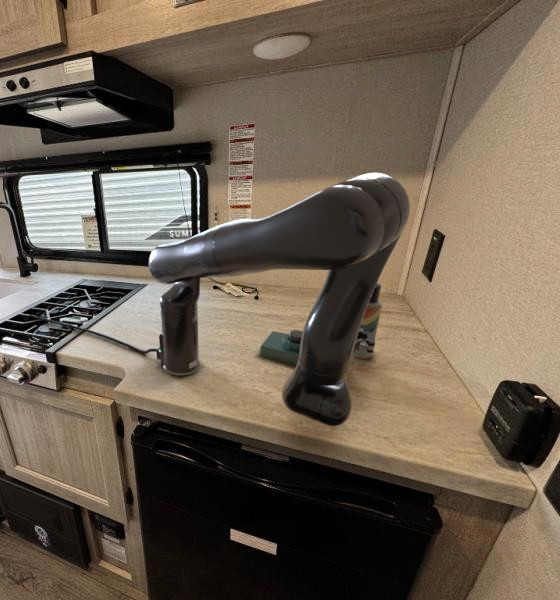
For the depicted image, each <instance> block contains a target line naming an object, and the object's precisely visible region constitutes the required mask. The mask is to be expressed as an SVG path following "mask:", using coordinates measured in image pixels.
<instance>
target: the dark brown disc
mask: <svg viewBox="0 0 560 600" xmlns="http://www.w3.org/2000/svg"><path fill="white" fill-rule="evenodd" d="M289 333H290V334H289ZM289 333H288V334H289V341H291V342H294V343H301V337H302V333H303V330H298V329H294V330H290V331H289Z"/></svg>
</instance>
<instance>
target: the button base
mask: <svg viewBox="0 0 560 600" xmlns="http://www.w3.org/2000/svg"><path fill="white" fill-rule="evenodd" d="M289 334H290V332H289V333H284V332H279V331H275V330H272V331H271V332H270V333H269V335H268V336H267V337H266V338H265V340H264V341H263V342H262V344H261V345H260V349H259V350H260V351H259V356H260V357H263V358H267V359H271V360H274V361H278V362H282V363H284V364H289V365H292V366H296V364H297V361H298V357H299V351H300V344H301V343H294V342H291V341H289Z"/></svg>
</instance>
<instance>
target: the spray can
mask: <svg viewBox="0 0 560 600" xmlns="http://www.w3.org/2000/svg"><path fill="white" fill-rule="evenodd" d="M381 289H382V285H381V284H380V283H379V282H377V284H376V286H375V289H374V291H373V293H372V296H371V298H370V301H369V303H368V306H367V309H366V311H365V314H364V317H363V320H362V325H364V326H365V328H364V331H365V332H366V331H371V332H373V336H374V339H375V340H376V335H377V332H378V327H379V322H380V317H381V312H382V308H383V302H382V301H381V300H379V299H380V294H381ZM363 341H365V340H364V339H362V340H360V343H362V342H363ZM372 355H373V353H368V352H367V350H366V349H362V348H359V350H356V352H355V356H354V358H357V359H363V360H364V359H369V358H371V357H372Z"/></svg>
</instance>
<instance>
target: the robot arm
mask: <svg viewBox="0 0 560 600" xmlns="http://www.w3.org/2000/svg"><path fill="white" fill-rule="evenodd" d="M410 210H411V204H410V197H409V195H408V193H407V189H405V187H404V186H403V184H402V183H401V182H399V181H398V180H397V179H396V178H395V177H392V176H390V175H388V174H385V173H381V172H367V173H363V174H359V175H355V176H353V177H350V178H348V179H345V180H343V181H340V182H338V183H336V184H334V185H330V186H328V187H326V188H324V189H322V190H319V191H318V192H316V193H314V194H312V195H310V196H309V197H307V198H305V199H303V200H302V201H299V202H297V203H295V204H293V205H291V206H289V207H287V208H285V209H283V210H280V211H278V212H276V213H274V214H272V215H269V216H267V217H264V218H263V217H262V218H260V219H252V218H242V219H235V220H232V221H228V222H225V223H223V224H219V225H216V226H214V227H212V228H209V229H207V230H205V231H203V232H200V233H198V234H195V235H194V236H191V237H188V238H187V239H185V240H180V241H175V242H170V243H164V244H160V245H157V246H156V247H154V249H152V251H151V253H150V254H149V258H148V267H149V268H148V270H149V272H150V275H151V276H152V277H153V279H154V280H155V281H157V282H158V283H160V284H162V285H172V284H173V285H172V286H171V287H170V288H169V289H168V290H167V291H165V292H164V293H163V294H162V295H161V296H160V298H159V309H160V324H161V333H160V334H159V335H158V337H159V338H158V340H159V341H158V343H159V347H158V348H148V349H147V350H143V349H140V348H137V347H136V346H135V347H134V346H133V345H131V344H128V343H127V342H125V341H124V342H123V341H121V340H119V339H116V338H114V337H112V336H109V335H105V334H103V333H100V332H96V331H94V330H90V329H87V328H83V327H79V326H76V325H72V324H69V323H68V324H67V323H64V322H60V321H56V320H52V319H48V318H45V317H41V316H37V315H33V314H29V315H28V316H29V317H30V318H32V319H33V318H34V319H37V320H40V321H44V322H47V323H52V324H54V325H59V326H64V327H67V328H72V329H75V330H78V331H82V332H85V333H89V334H92V335H96V336H98V337H101V338H104V339H106V340H109V341H111V342H115V343H117V344H119V345H121V346H124V347H127V348H128V349H131V350H132V351H134V352H136V353H140V354H144V355H145V354H146V355H147V354H149V353H152V352H153V353H154V352H155V354H156V359H157V360H159V361H160V366H161V367H162V368H163V369H164V370H165V372H166V373H168V374H170V375H173V376H178V377H184V376H190V375H192V374H195V373H196V372H197V371H198V370H199V368H200V358H199V356H200V355H199V352H200V350H199V310H198V308H199V307H198V306H199V305H198V302H199V299H200V295H201V279H219V278H221V279H222V278H233V277H240V276H247V275H252V274H253V275H254V274H260V273H266V272H268V271H277V270H278V271H279V270H302V271H303V270H304V271H306V270H308V271H328V272H327V275H326V278H325V280H324V282H323V284H322V285H323V286H322V287H321V290H320V292H319V294H318V296H317V298H316V300H315V301H314V304H313V306H312V308H311V310H310V312H309V314H308V316H307V318H306V321H305V323H304V326H303V329H302V332H303V333H302V337H301V344H300V351H299V357H298V361H297V364H296V365H295V366H294V368H293V370H292V372H291V374H289V376H288V377H287V379H286V381H285V382H284V384H283V387H282V391H281V400H282V402H283V404H284V406H285V407H286V408H287V409H288V410H289V411H291V412H292V413H295V414H298V415H300V416H303V417H304V418H308V419H310V420H313V421H316V422H318V423H320V424H323V425H325V426H328V427H334V428H335V427H339V426H342V425H344V424H345V423H346V422H347V421H348V420H349V418H350V417H351V413H352V407H353V406H352V405H353V403H352V396H351V390H350V387H349V384H348V381H347V378H348V375H349V372H350V370H351V369H352V366H353V365H354V360H355V357H354V356H355V352H356V350H359V348H362V349H366V350H367V352H368V353H372V354H373V353H374V352H375V351H374V350H375V346H376V338H375V339H374V336H373V332H371V331H366V332H365V331H364V328H365V326H364V325H362V320H363V317H364V314H365V311H366V309H367V306H368V303H369V301H370V298H371V296H372V293H373V291H374V289H375V286H376V284H377V283H379V280H380V277H381V275H382V272H383V271H384V268H385V267H386V264H387V263H388V261H389V259H390V257H391V255H392V253H393V251H394V250H395V247H396V245H397V244H398V242H399V240H400V237H401V236H402V234H403V232H404V230H405V228H406V226H407V224H408V221H409V218H410V214H411V213H410ZM81 328H83V329H81ZM362 339H364V340H365V341H363V342H362V343H360V340H362Z"/></svg>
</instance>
